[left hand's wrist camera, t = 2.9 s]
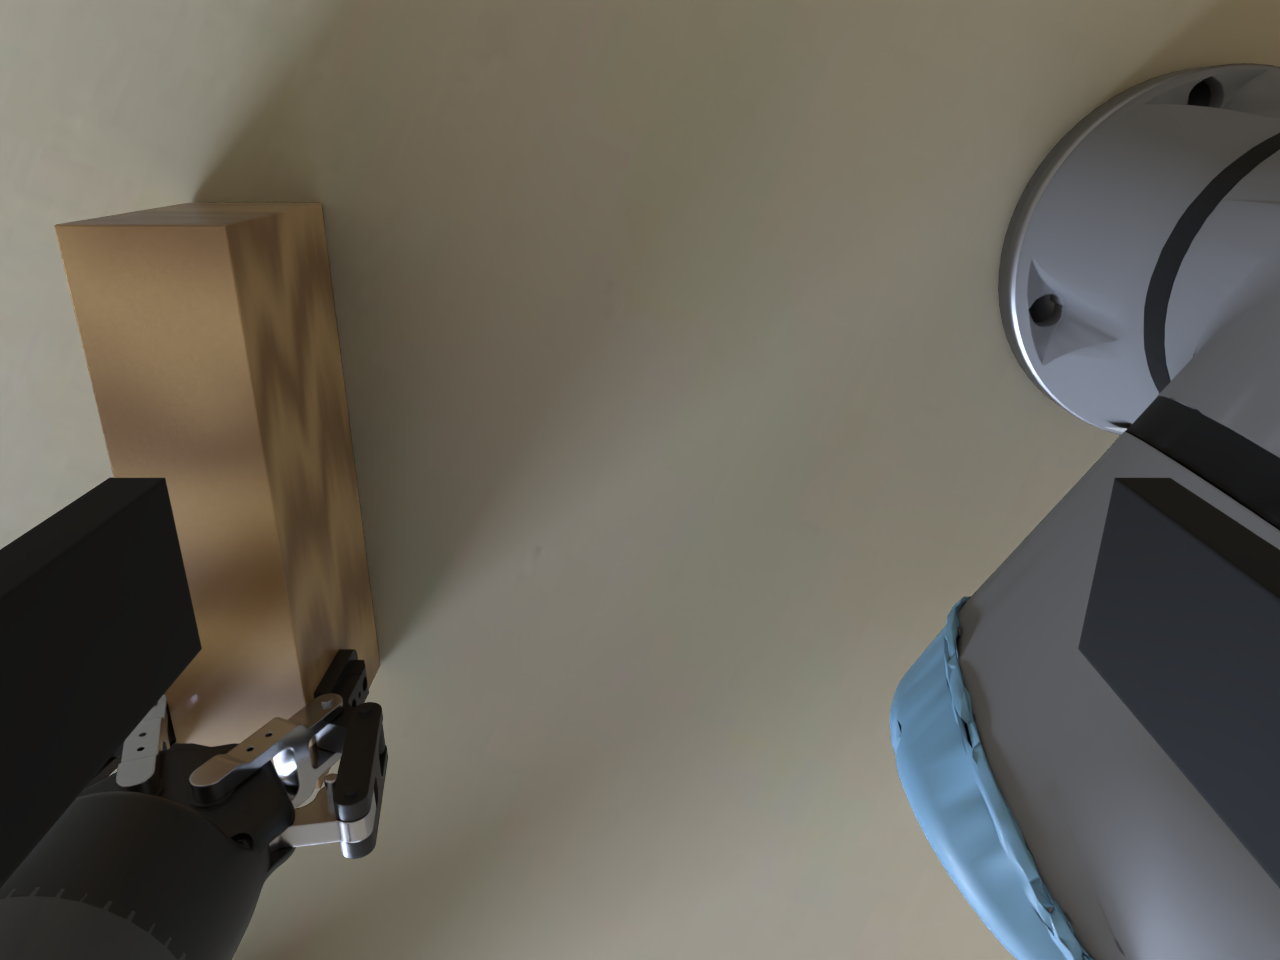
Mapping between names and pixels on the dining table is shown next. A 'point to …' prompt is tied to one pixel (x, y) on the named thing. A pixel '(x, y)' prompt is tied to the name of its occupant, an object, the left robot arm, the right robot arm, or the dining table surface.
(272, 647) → the bar
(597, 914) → the dining table surface
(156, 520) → the left robot arm
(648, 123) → the dining table surface
